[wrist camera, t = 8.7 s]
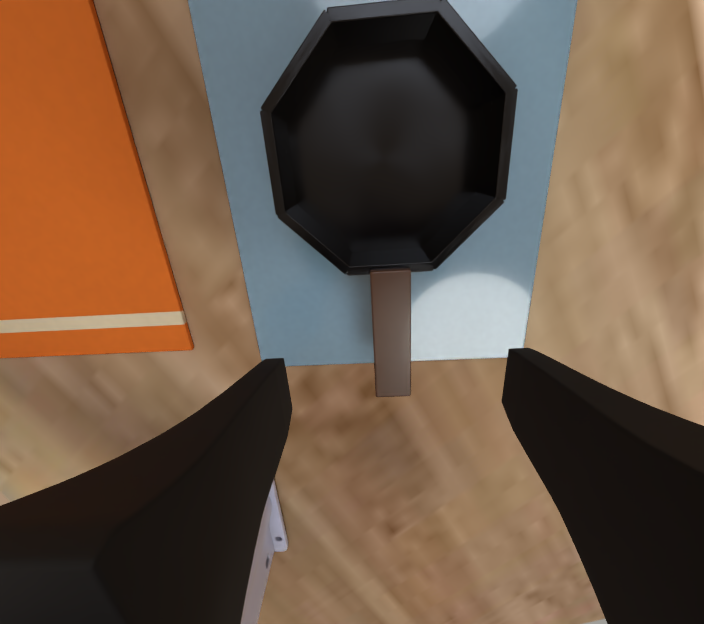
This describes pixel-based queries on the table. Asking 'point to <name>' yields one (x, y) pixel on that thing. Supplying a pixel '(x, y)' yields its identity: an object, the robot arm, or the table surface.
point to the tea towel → (74, 198)
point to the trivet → (354, 291)
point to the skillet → (389, 151)
